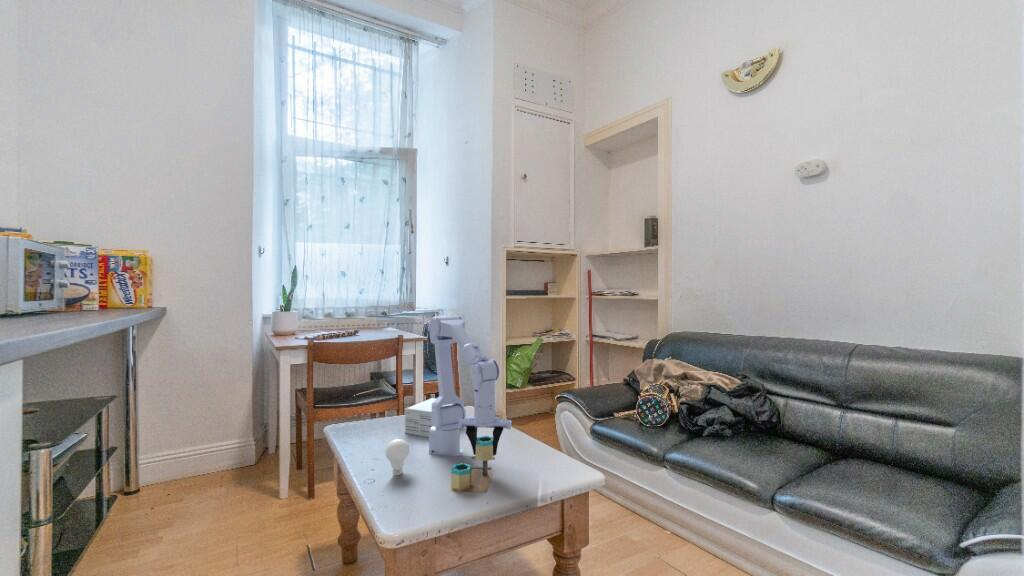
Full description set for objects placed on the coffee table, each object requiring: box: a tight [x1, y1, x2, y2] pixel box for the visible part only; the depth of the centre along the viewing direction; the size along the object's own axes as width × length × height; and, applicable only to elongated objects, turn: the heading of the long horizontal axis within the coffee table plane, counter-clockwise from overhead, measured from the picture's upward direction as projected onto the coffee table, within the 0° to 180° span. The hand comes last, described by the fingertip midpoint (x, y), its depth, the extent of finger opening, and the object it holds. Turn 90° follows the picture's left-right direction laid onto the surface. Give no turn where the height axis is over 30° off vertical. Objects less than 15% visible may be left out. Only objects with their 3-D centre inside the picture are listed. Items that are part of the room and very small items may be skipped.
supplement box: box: [404, 397, 454, 438], centre depth 164 cm, size 17×13×9 cm
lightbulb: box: [385, 438, 410, 477], centre depth 122 cm, size 6×6×11 cm
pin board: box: [451, 460, 494, 494], centre depth 117 cm, size 9×13×6 cm
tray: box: [470, 455, 495, 470], centre depth 129 cm, size 7×8×2 cm
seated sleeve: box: [450, 462, 473, 492], centre depth 114 cm, size 5×6×5 cm
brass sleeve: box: [475, 435, 495, 462], centre depth 121 cm, size 5×6×5 cm
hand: (485, 453), depth 121 cm, fingers closed on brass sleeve, 5 cm apart
